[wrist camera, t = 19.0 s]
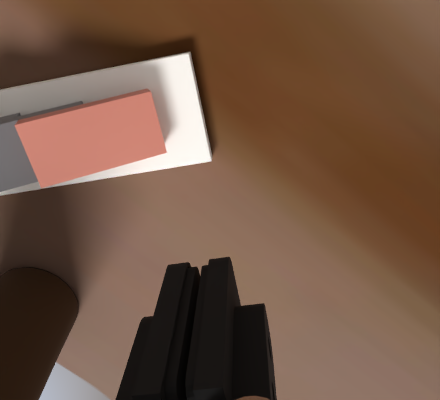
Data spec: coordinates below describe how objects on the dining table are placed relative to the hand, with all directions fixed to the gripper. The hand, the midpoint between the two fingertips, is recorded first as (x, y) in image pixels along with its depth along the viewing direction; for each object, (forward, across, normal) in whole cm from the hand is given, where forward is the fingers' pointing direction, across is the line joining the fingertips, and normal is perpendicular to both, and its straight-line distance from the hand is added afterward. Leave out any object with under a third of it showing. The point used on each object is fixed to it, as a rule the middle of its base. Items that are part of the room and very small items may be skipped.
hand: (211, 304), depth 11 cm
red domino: (+23, +6, 0) cm, 24 cm away
